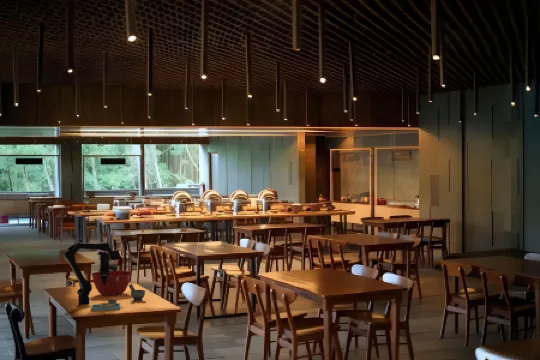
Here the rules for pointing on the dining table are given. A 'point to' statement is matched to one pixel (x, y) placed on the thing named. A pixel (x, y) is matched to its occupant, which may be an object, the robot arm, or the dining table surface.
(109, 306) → the birch pin
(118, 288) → the mixing bowl
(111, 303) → the grey cup
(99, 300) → the dining table surface
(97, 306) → the teal tray
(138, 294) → the mortar and pestle
